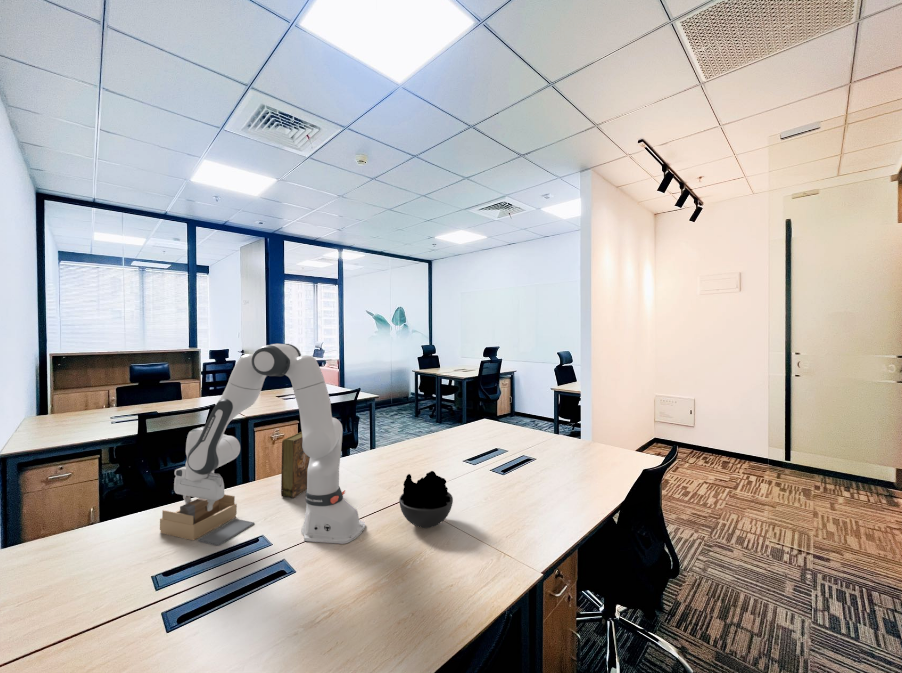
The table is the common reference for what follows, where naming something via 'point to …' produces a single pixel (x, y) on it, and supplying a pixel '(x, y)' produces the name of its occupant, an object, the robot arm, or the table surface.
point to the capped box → (199, 509)
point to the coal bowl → (425, 500)
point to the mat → (226, 532)
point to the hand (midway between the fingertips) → (198, 508)
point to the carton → (184, 525)
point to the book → (293, 466)
